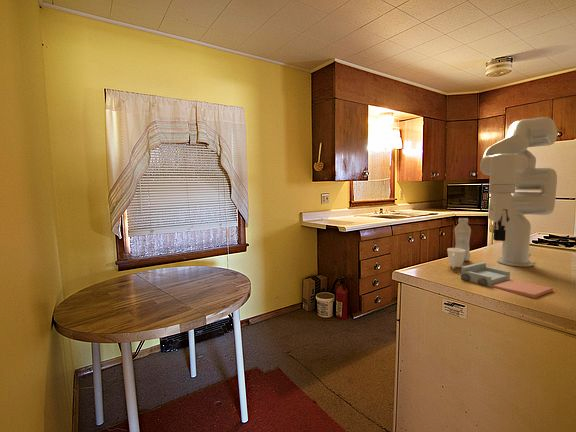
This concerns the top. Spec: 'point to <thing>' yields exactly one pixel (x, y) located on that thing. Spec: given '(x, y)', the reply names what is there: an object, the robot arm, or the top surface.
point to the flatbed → (484, 274)
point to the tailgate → (523, 288)
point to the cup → (456, 257)
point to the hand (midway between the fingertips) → (499, 240)
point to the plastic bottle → (463, 237)
